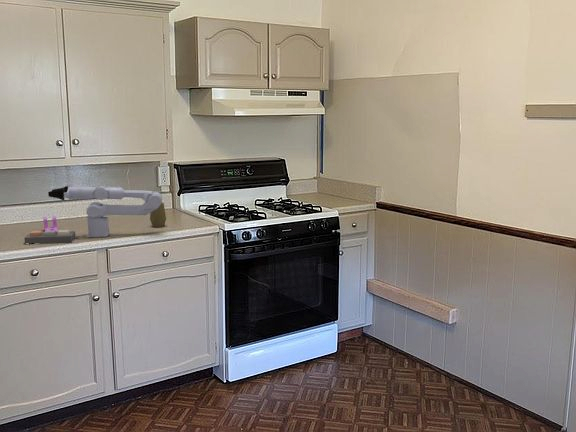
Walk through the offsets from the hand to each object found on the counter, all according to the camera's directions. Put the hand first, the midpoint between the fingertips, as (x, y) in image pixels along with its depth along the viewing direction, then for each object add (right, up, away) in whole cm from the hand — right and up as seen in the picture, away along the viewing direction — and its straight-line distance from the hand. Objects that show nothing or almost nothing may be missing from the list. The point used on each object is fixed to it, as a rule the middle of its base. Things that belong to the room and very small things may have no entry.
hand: (50, 193), depth 275 cm
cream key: (+7, -20, -3) cm, 22 cm away
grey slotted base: (+2, -22, -3) cm, 22 cm away
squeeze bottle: (+44, -16, +28) cm, 55 cm away
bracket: (-6, -19, +16) cm, 25 cm away
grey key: (+2, -21, -4) cm, 21 cm away
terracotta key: (-4, -21, -5) cm, 22 cm away
